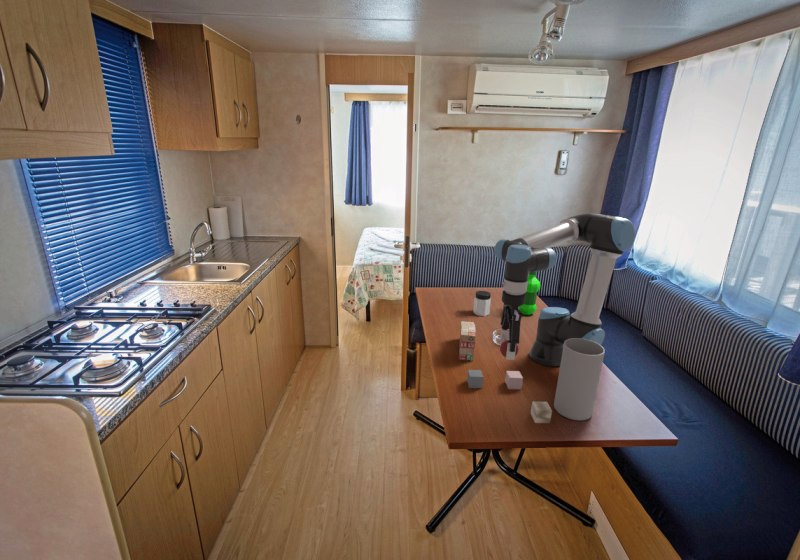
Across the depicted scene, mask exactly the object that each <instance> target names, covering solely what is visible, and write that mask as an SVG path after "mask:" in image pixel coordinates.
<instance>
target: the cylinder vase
mask: <svg viewBox="0 0 800 560" xmlns="http://www.w3.org/2000/svg"><path fill="white" fill-rule="evenodd" d="M605 351H606V350H605V348H604V347H603V346H602V344H601V345H600V344H598V343H596V342H593V341H590V340H586V339H581V338H571V339H567V340H566V341H565V342H564V347H563V353H562V359H561V365H560V366H559V371H558V372H559V373H558V378H557V383H556V389H555V396H554V401H553V408H554V409H555V411H556V412H557V413H558V414H559V415H561V416H562V417H564V418H567V419H569V420H572V421H586V420H588V419H590V418H591V417H592V415H593V411H594V406H595V401H596V396H597V392H598V387H599V382H600V376H601V371H602V367H603V362H604V358H605V357H604V356H605Z"/></svg>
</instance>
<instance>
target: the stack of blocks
mask: <svg viewBox="0 0 800 560" xmlns="http://www.w3.org/2000/svg"><path fill="white" fill-rule="evenodd" d="M476 338H477V336H476V324H475V322H474V321H463V320H461V321H460V333H459V351H458V354H459V355H458V361H467V360H470V361H469V362H474V356H475V345H476Z"/></svg>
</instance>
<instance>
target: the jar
mask: <svg viewBox="0 0 800 560" xmlns="http://www.w3.org/2000/svg"><path fill="white" fill-rule="evenodd" d="M491 295H492V294H491V292H490V291H487V290H477V291H476V292H475V296H474V300H473V311H472V312H473V314H475V315H476V316H478V317H479V316H480V317H487V316H488V315H490V314H491V313H490V311H491V302H492V298H491Z"/></svg>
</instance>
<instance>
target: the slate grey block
mask: <svg viewBox="0 0 800 560" xmlns="http://www.w3.org/2000/svg"><path fill="white" fill-rule="evenodd" d="M466 378H467V379H466V382H467V385H468V388H469V389H483V383H484V375H483V371H482V370H481V369H468V370H467V377H466Z"/></svg>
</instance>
